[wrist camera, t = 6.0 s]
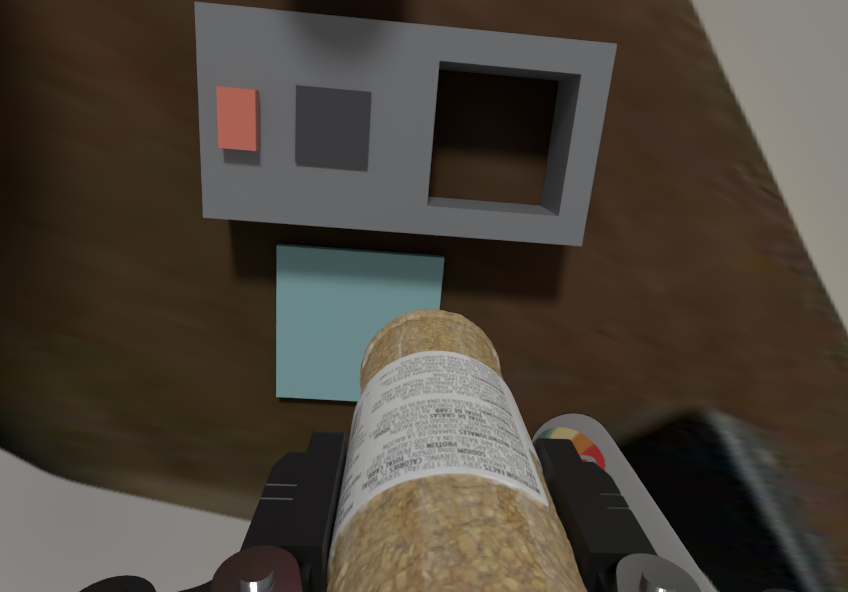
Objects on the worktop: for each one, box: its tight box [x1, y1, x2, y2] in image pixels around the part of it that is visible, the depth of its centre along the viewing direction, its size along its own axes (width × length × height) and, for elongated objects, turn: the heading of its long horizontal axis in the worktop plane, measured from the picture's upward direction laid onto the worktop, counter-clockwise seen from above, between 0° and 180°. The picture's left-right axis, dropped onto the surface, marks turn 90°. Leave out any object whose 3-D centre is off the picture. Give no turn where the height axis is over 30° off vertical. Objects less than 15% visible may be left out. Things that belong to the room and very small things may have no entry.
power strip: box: [195, 2, 617, 246], centre depth 28 cm, size 20×10×5 cm, turn 85°
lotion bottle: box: [532, 414, 714, 592], centre depth 28 cm, size 6×6×20 cm
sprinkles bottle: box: [327, 309, 587, 592], centre depth 11 cm, size 5×5×14 cm
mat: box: [276, 244, 444, 401], centre depth 34 cm, size 10×10×1 cm
